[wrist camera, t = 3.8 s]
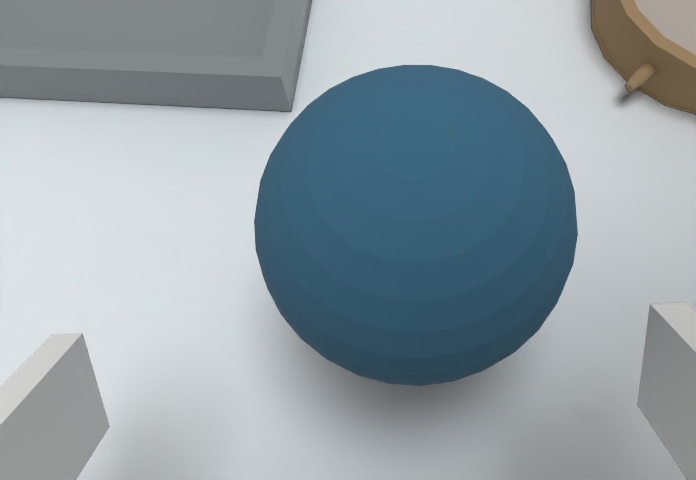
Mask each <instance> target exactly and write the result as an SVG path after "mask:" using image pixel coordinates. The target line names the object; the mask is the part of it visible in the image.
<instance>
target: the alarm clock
mask: <svg viewBox="0 0 696 480" xmlns="http://www.w3.org/2000/svg"><path fill="white" fill-rule="evenodd" d="M591 28H592V31H593V33H594V36H595V38H596V41H597V43H598V45H599V47H600V49H601V52H602V54H603V56H604V58H605V59H606V60H607V61H608V62H609V63H610V64H611V65H612V66H613V67H614V69H615V70H616V71H617V72H618V73H619V74H620V75H621V76H622V77H623V78H624V79H625V80H626V81H627V83H626V85H625V88H626V89H627V90H628V91H633V90H635V89H638V90H640V91H642V92H643V93H645V94H647V95H648V96H650V97H652V98H653V99H655V100H657V101H658V102H660V103H662V104H664V105H665V106H669V107H672V108H675V109H679V110H682V111H685V112H689V113H692V114H695V115H696V0H591Z"/></svg>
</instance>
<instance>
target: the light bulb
mask: <svg viewBox="0 0 696 480" xmlns="http://www.w3.org/2000/svg"><path fill="white" fill-rule="evenodd" d="M254 225H255V244H256V252H257V255H258V259H259V263H260V266H261V270H262V274H263V277H264V280H265V283H266V286H267V288H268V290H269V292H270V294H271V296H272V298H273V300H274V302H275V304H276V306H277V308H278V309H279V311H280V313H281V315H282V316H283V317H284V319H285V320H286V321H287V322H288V323H289V325H290V326H291V327H292V328H293V329H294V331H295V332H296V333H297V334H298V336H299V337H300V338H301V339H302V340H304V341H305V342H306V343H307V344H309V345H310V346H311V347H312V348H314V349H315V350H316V351H317V352H319V353H320V354H321V355H322V356H324V357H325V358H326V359H328V360H330V361H331V362H333V363H335V364H337V365H339V366H341V367H343V368H345V369H347V370H349V371H351V372H353V373H355V374H357V375H360V376H363V377H367V378H370V379H374V380H378V381H381V382H385V383H389V384H403V385H417V386H421V385H429V384H437V383H445V382H452V381H455V380H457V379H460V378H463V377H466V376H469V375H472V374H475V373H478V372H481V371H483V370H485V369H487V368H489V367H490V366H492V365H494V364H495V363H497V362H499V361H501V360H502V359H504V358H506V357H507V356H509V355H511V354H512V353H514V352H515V351H516V350H518V349H519V348H520V347H521V346H522V345H523V344H524V343H525V342H526V341H527V340H528V339H529V338H530V337H532V336H533V335H534V334H535V333H536V332H537V331H538V330H539V329H540V327H541V326H542V324H543V323H544V321H545V320H546V318H547V317H548V316H549V314H550V313H551V311H552V310H553V308H554V307H555V305H556V304H557V302H558V299H559V297H560V295H561V293H562V290H563V288H564V285H565V283H566V280H567V278H568V275H569V273H570V270H571V268H572V265H573V261H574V255H575V248H576V242H577V235H578V233H577V219H576V205H575V193H574V188H573V185H572V182H571V178H570V175H569V172H568V168H567V165H566V163H565V161H564V159H563V157H562V155H561V154H560V152H559V150H558V148H557V146H556V144H555V143H554V141H553V139H552V138H551V136H550V135H549V133H548V132H547V130H546V129H545V128H544V127H543V125H542V124H541V123H540V122H539V121H538V119H537V118H536V117H535V116H534V115H533V114H532V112H531V111H530V110H529V109H528V108H527V107H526V106H525V105H523V104H522V103H521V102H520V101H518V100H517V99H516V98H515V97H513V96H512V95H511V94H510V93H508V92H507V91H505V90H504V89H502V88H500V87H498V86H496V85H494V84H493V83H491V82H489V81H487V80H485V79H483V78H481V77H478V76H475V75H472V74H469V73H466V72H463V71H460V70H456V69H450V68H445V67H439V66H433V65H401V66H395V67H388V68H381V69H377V70H373V71H370V72H367V73H364V74H361V75H358V76H355V77H352V78H350V79H348V80H346V81H344V82H342V83H340V84H338V85H336V86H334V87H332V88H330V89H329V90H327V91H326V92H325V93H323V94H322V95H321V96H319V97H318V98H317V99H315V100H314V101H313V102H311V103H310V104H309V105H308V106H307V107H306V108H305V109H304V110H303V111H302V112H301V113H300V114H299V116H298V117H297V118H296V119H295V120H294V121H293V122H292V123H291V124H290V126H289V127H288V128H287V130H286V131H285V133H284V134H283V136H282V137H281V139H280V141H279V142H278V144H277V145H276V147H275V148H274V150H273V152H272V153H271V155H270V157H269V160H268V162H267V165H266V167H265V170H264V173H263V175H262V178H261V181H260V187H259V193H258V199H257V206H256V212H255V220H254Z"/></svg>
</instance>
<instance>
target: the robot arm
mask: <svg viewBox="0 0 696 480" xmlns="http://www.w3.org/2000/svg"><path fill="white" fill-rule="evenodd" d="M637 405H638V407H639V408H640V410H641V411H642V413H643V414H644V416H645V417H646V419H647V420H648V422H649V423H650V425H651V426H652V428H653V429H654V431H655V432H656V434H657V435H658V437H659V438H660V440H661V441H662V443H663V444H664V446H665V447H666V449H667V450H668V452H669V453H670V455H671V456H672V458H673V459H674V461H675V462H676V464H677V465H678V467H679V468H680V470H681V471H682V473H683V474H684V476H685V477H686V479H687V480H696V311H695V310H694V309H693V308H692V307H691V306H689V305H688V304H687V303H686V302H674V303H655V304H650V309H649V316H648V324H647V332H646V340H645V348H644V356H643V364H642V372H641V380H640V388H639V395H638V403H637ZM109 427H110V426H109V423H108V419H107V416H106V412H105V409H104V406H103V402H102V399H101V395H100V392H99V388H98V385H97V381H96V378H95V374H94V371H93V367H92V364H91V361H90V357H89V354H88V350H87V347H86V343H85V340H84V336H83V333H76V334H56V335H51V336H50V337H49V338H48V339H47V340H46V341H45V342H44V343H43V344H42V345H41V346H40V347H39V348H38V349H37V350H36V351H35V352H34V353H33V354H32V355H31V356H30V357H29V358H28V359H27V360H26V361H25V362H24V363H23V364H22V365H21V366H20V367H19V368H18V369H17V370H16V371H15V373H14V374H13V375H12V376H11V377H10V378H9V379H8V380H7V381H6V382H5V383H4V384H3V385H2V386H1V387H0V480H76V479H77V477H78V476H79V474H80V473H81V471H82V469H83V468H84V466H85V465H86V463H87V462H88V460H89V458H90V457H91V455H92V454H93V452H94V450H95V449H96V447H97V446H98V444H99V442H100V441H101V439H102V438H103V436H104V435H105V433H106V431H107V430H108V428H109Z"/></svg>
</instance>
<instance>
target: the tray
mask: <svg viewBox="0 0 696 480" xmlns="http://www.w3.org/2000/svg"><path fill="white" fill-rule="evenodd" d="M311 3H312V0H0V97H9V98H29V99H49V100H69V101H89V102H109V103H129V104H149V105H170V106H190V107H210V108H230V109H250V110H270V111H290V112H291V111H292V106H293V100H294V95H295V89H296V84H297V79H298V73H299V68H300V63H301V57H302V52H303V46H304V41H305V36H306V30H307V25H308V19H309V14H310V9H311Z"/></svg>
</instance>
